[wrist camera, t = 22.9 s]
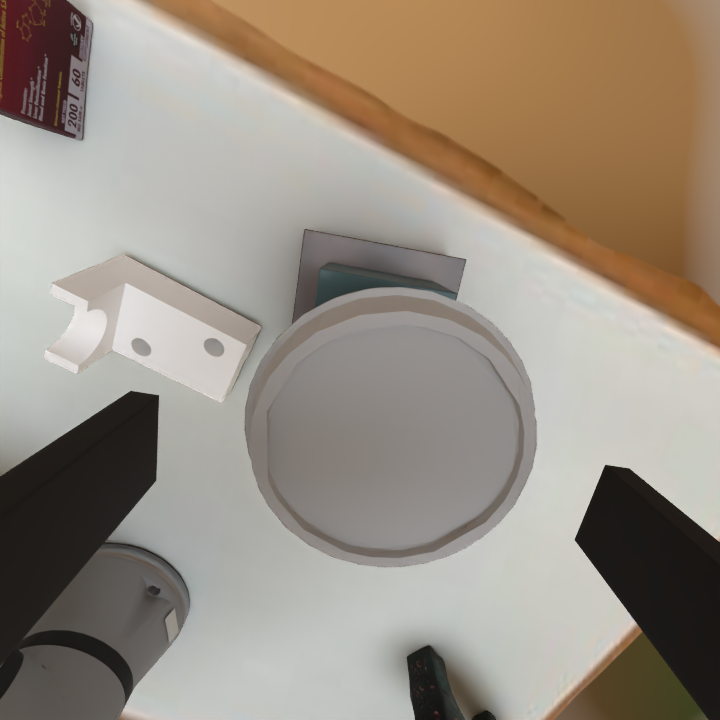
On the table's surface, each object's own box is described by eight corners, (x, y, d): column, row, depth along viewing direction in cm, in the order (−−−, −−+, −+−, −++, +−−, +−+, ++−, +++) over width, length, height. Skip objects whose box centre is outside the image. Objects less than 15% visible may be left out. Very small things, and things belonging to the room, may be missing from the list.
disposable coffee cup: (351, 231, 21) (344, 218, 10) (487, 325, 23) (622, 411, 11) (266, 369, 23) (177, 493, 12) (395, 446, 25) (427, 620, 13)
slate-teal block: (313, 364, 31) (300, 398, 24) (328, 261, 28) (319, 268, 22) (411, 380, 31) (426, 418, 24) (434, 281, 29) (457, 293, 22)
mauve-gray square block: (295, 361, 37) (284, 383, 31) (313, 231, 33) (304, 228, 28) (418, 382, 38) (429, 407, 32) (448, 256, 34) (466, 259, 28)
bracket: (110, 319, 36) (44, 358, 30) (123, 254, 33) (51, 283, 26) (236, 381, 38) (200, 431, 32) (261, 326, 35) (226, 370, 28)
